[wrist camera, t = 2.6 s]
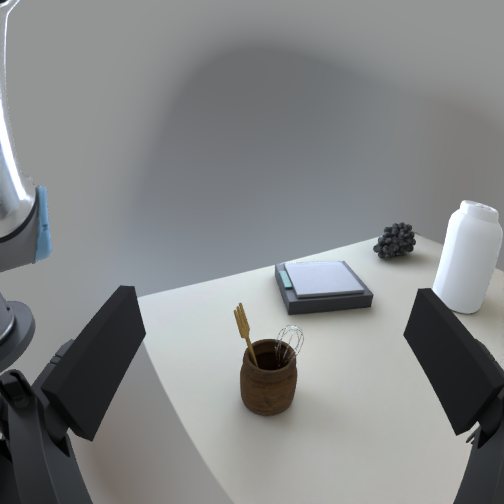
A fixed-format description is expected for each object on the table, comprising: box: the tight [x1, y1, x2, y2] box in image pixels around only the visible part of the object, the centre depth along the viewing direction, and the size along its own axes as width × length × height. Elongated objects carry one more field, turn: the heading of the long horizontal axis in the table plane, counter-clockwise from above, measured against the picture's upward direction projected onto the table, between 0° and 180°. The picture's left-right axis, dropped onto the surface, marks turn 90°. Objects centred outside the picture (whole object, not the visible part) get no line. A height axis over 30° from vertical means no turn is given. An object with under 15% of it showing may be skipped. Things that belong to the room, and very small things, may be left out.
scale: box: [275, 261, 373, 315], centre depth 49 cm, size 15×14×3 cm
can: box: [433, 200, 503, 314], centre depth 40 cm, size 12×12×20 cm
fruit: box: [373, 223, 416, 258], centre depth 64 cm, size 9×8×15 cm
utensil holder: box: [234, 303, 304, 415], centre depth 25 cm, size 6×6×12 cm
